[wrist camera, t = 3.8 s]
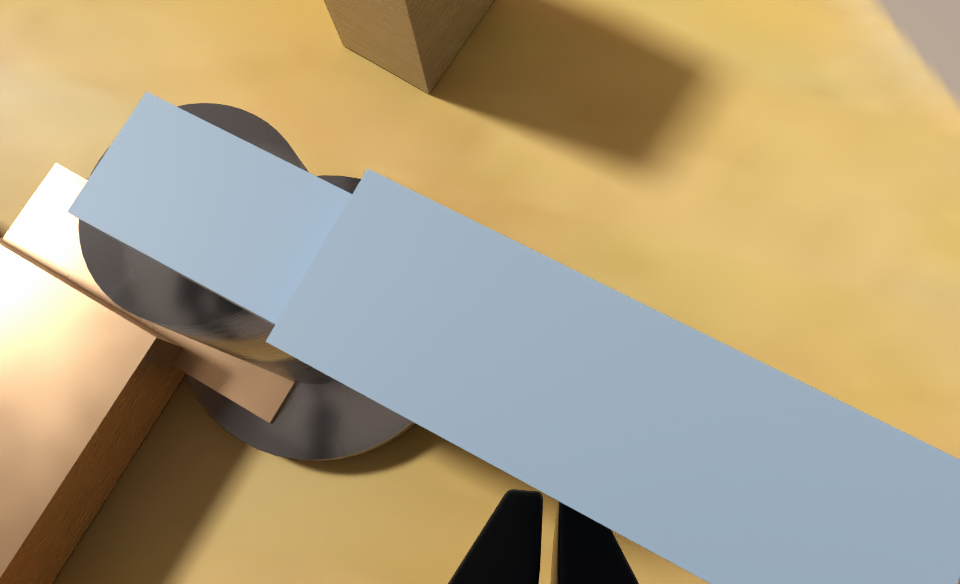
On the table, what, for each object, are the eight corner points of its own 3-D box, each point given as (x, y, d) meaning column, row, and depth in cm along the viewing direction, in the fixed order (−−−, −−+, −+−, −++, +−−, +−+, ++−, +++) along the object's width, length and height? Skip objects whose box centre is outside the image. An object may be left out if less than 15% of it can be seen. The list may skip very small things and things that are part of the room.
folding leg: (275, 343, 16) (28, 212, 8) (324, 259, 16) (133, 53, 8) (702, 576, 15) (914, 693, 7) (748, 478, 15) (997, 478, 7)
